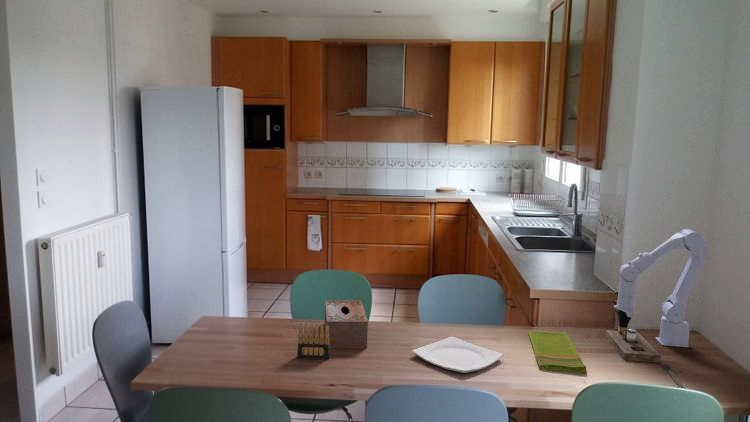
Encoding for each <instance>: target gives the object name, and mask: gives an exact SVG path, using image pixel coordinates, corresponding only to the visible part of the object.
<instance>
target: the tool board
mask: <svg viewBox="0 0 750 422" xmlns="http://www.w3.org/2000/svg"><path fill="white" fill-rule="evenodd" d="M605 337H606V339H607V338H608V339H609V340H608V339H607V340H608V342H609V343H610V342H611V343H612V344H611V343H610V344H611V345H612V346H613V348H614V347H615V348H614V349H615V350H616V351H617V353H618V354H619V356H620V357H621V358H622V359H623V360H624V361H625V360H626V361H636V362H637V361H638V362H647V363H661V354H660V353H659V352H658V351H657V350H656V349H655V348H654V346H652V345H651V344H650V343H649V342H648V341H647V340H646V338H644V336H642V335H641V334H640V332H636V341H635V343H626V341H627V337H624V335H623V334H622V333H618V330H608V329H606V330H605Z"/></svg>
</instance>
